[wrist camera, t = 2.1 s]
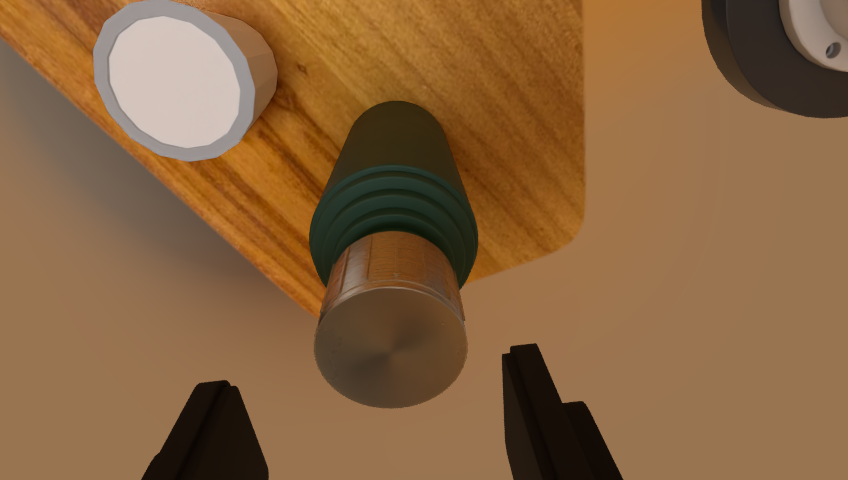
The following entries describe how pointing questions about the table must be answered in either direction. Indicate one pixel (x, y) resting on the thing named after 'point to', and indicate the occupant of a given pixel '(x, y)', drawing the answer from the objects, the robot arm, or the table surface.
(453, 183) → the bottle
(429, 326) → the cap
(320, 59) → the table surface
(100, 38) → the white cylinder
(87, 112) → the table surface
